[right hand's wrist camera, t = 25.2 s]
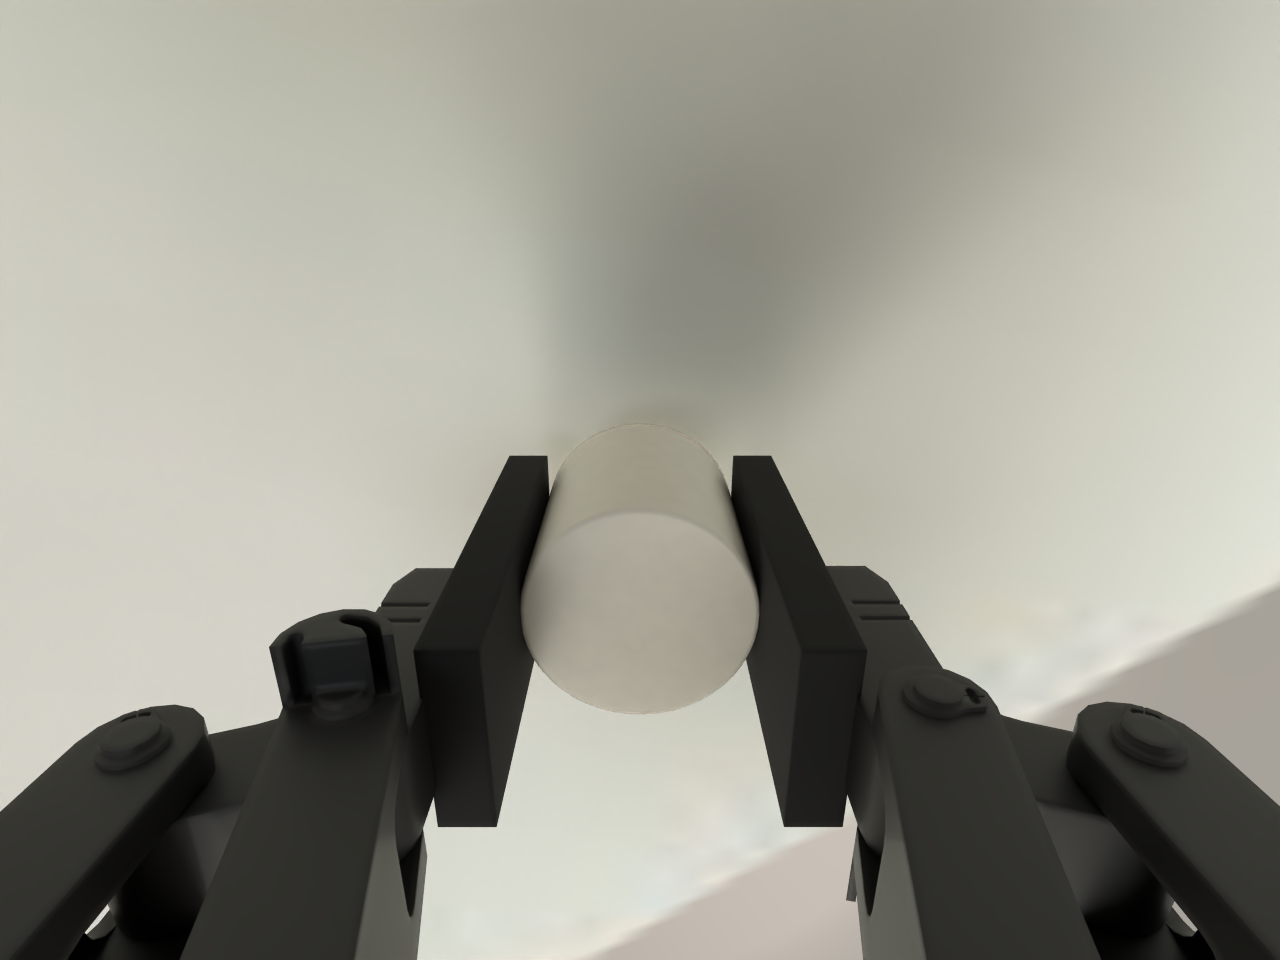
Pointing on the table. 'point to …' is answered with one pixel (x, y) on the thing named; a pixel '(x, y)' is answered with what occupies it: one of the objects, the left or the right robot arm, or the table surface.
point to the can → (639, 575)
